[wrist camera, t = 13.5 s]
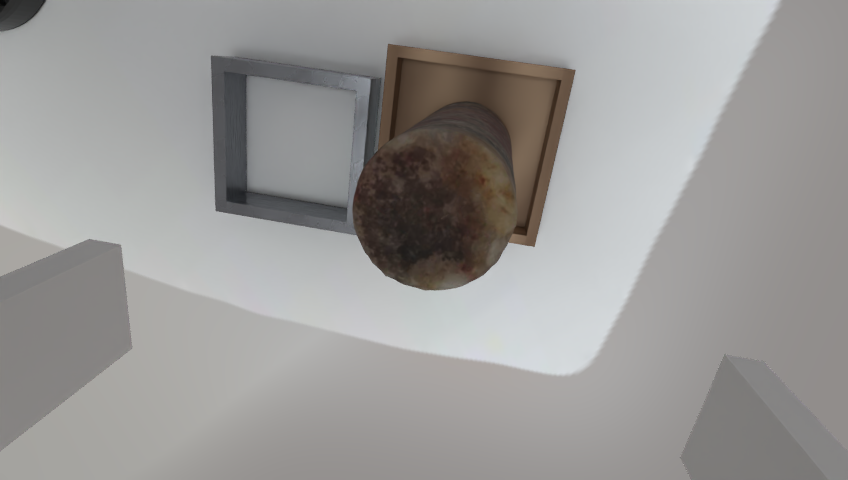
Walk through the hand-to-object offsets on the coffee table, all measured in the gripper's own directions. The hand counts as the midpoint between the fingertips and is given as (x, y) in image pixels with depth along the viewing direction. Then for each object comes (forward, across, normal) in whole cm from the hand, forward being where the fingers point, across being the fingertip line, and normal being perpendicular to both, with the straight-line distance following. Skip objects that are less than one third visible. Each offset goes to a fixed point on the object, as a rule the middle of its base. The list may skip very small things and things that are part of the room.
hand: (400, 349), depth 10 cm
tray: (+31, 0, 0) cm, 31 cm away
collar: (+31, -14, -2) cm, 34 cm away
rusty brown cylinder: (+30, 0, 0) cm, 30 cm away
